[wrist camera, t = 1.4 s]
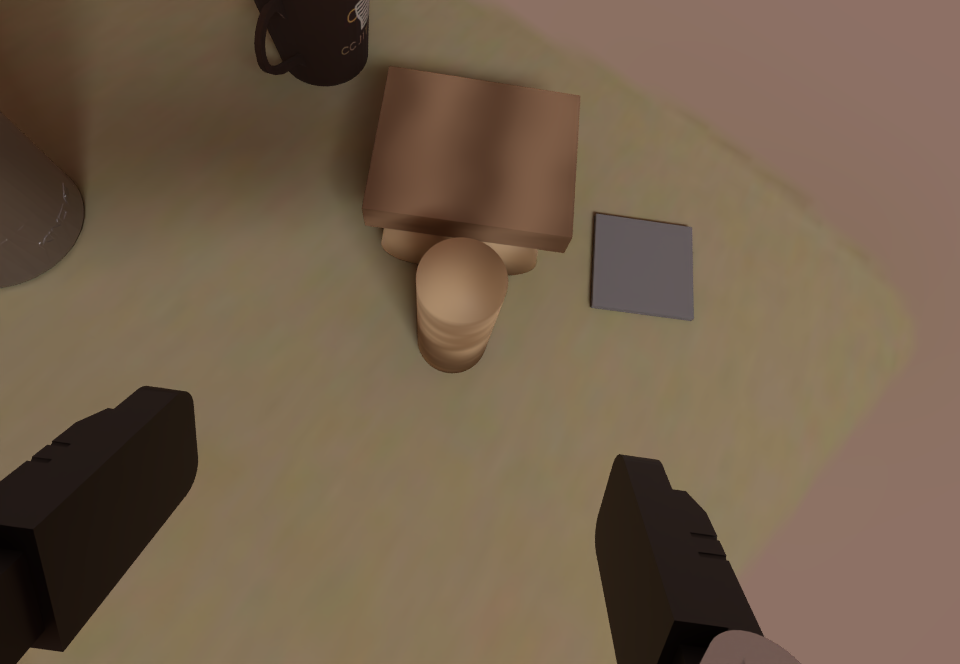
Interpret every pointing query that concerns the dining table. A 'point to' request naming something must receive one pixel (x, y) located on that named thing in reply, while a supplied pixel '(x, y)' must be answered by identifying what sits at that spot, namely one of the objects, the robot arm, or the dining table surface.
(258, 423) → the dining table surface
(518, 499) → the dining table surface
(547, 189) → the slab
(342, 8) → the coffee mug
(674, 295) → the mat
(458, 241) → the roller
